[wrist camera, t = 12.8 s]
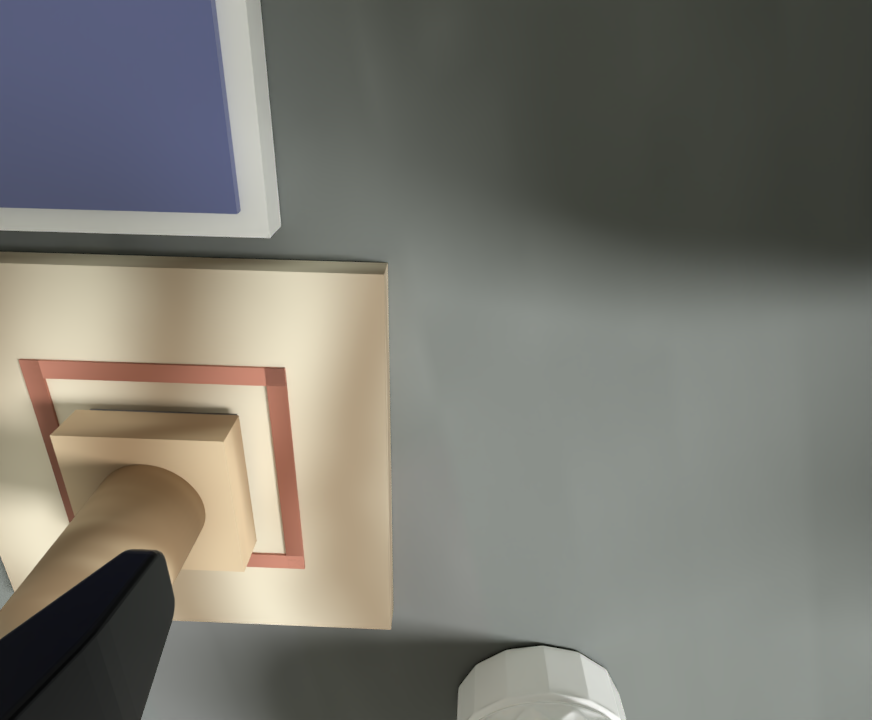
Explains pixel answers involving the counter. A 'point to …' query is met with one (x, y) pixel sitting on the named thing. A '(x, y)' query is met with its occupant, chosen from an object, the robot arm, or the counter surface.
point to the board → (215, 393)
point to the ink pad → (136, 118)
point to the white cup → (539, 687)
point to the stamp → (144, 499)
